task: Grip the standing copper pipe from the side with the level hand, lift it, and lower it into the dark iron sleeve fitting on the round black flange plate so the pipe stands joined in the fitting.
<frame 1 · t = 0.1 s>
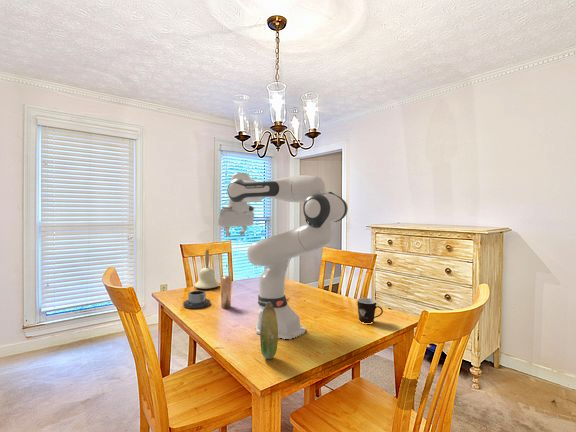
hand: (235, 235, 151), 39 cm above the table, tool pointing down, fingers open, 8 cm apart
handbell: (207, 287, 203), on the table
coffee mug: (368, 323, 144), on the table
copper pipe: (226, 307, 164), on the table
vegetable: (269, 360, 109), on the table
pipe sleeve: (196, 304, 168), on the table
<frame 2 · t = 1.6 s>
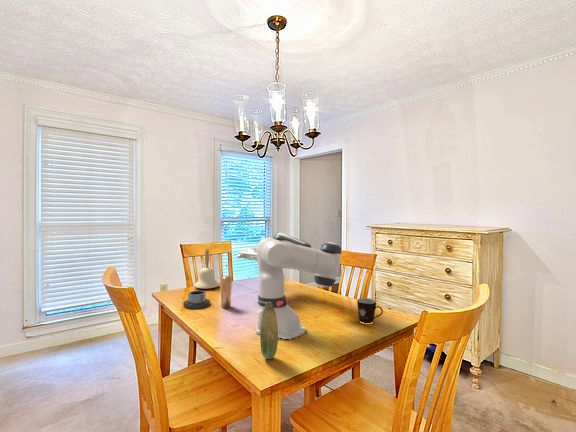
hand: (244, 257, 174), 25 cm above the table, tool horizontal, fingers open, 8 cm apart
nothing on the table moved.
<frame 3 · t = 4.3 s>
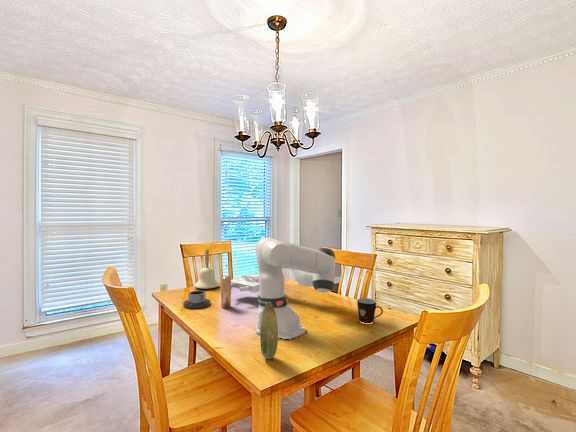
hand: (235, 288, 170), 9 cm above the table, tool horizontal, fingers open, 8 cm apart
nothing on the table moved.
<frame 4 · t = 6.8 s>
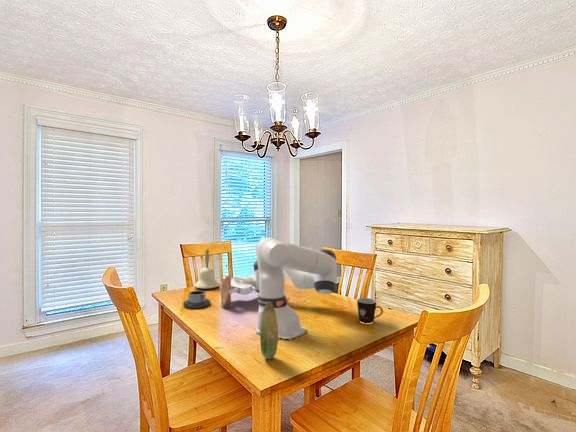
hand: (224, 290, 163), 9 cm above the table, tool horizontal, fingers closed on copper pipe, 5 cm apart
copper pipe: (225, 307, 164), on the table, touching gripper
everything else where it was.
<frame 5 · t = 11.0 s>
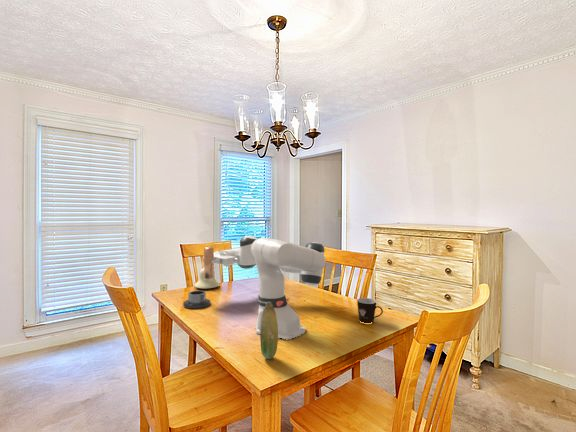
hand: (207, 260, 167), 24 cm above the table, tool horizontal, fingers closed on copper pipe, 5 cm apart
copper pipe: (208, 277, 168), point 15 cm above the table, touching gripper
everything else where it was.
when the fingers open (11 cm above the table, at t = 15.5 s): copper pipe stays where it is, resting on pipe sleeve.
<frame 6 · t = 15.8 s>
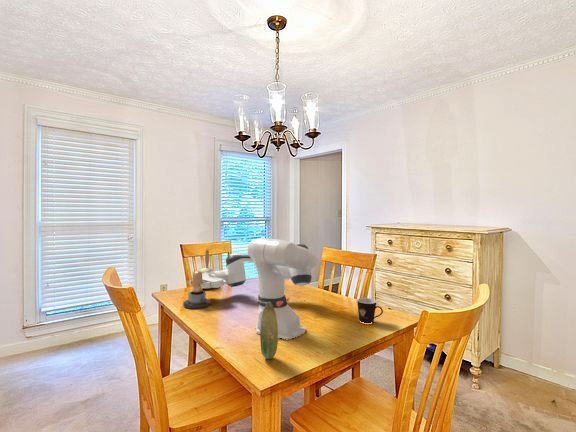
hand: (195, 283, 167), 11 cm above the table, tool horizontal, fingers open, 8 cm apart
copper pipe: (197, 301, 168), point 2 cm above the table, touching pipe sleeve
everything else where it was.
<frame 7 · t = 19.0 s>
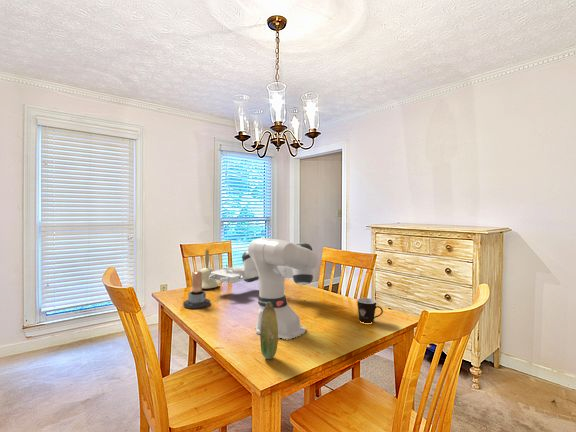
hand: (214, 279, 177), 12 cm above the table, tool horizontal, fingers open, 8 cm apart
nothing on the table moved.
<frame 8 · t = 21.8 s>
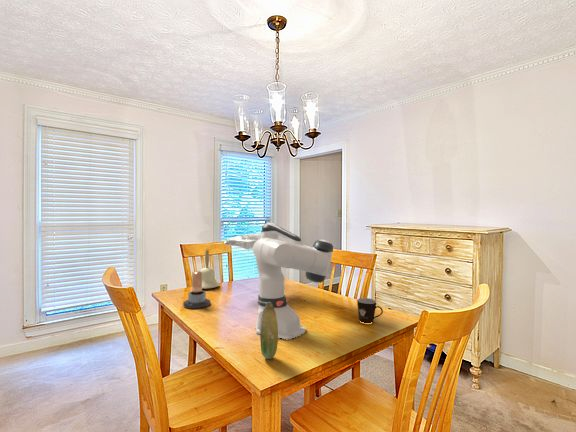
hand: (231, 244, 174), 32 cm above the table, tool horizontal, fingers open, 8 cm apart
nothing on the table moved.
at the end: copper pipe 0.1 cm off-centre on the pipe sleeve, point 1.5 cm above the pipe sleeve's base; copper pipe tilted 0°; the gripper is holding nothing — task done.
